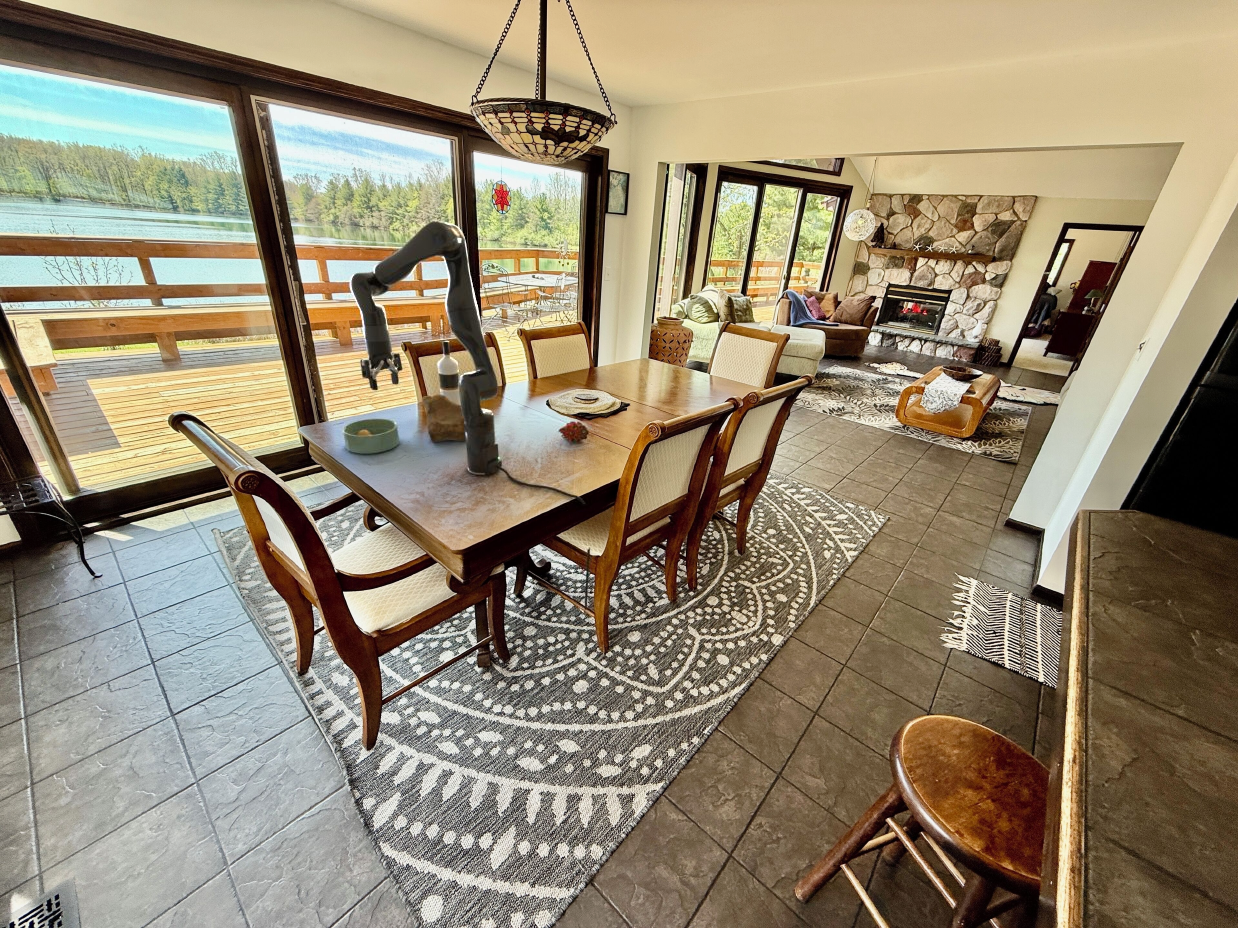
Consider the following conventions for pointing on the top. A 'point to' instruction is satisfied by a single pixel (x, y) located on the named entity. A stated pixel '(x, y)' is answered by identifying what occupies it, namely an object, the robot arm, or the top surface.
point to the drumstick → (363, 433)
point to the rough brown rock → (443, 419)
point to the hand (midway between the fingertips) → (385, 387)
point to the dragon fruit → (574, 431)
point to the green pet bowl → (371, 436)
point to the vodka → (448, 375)
